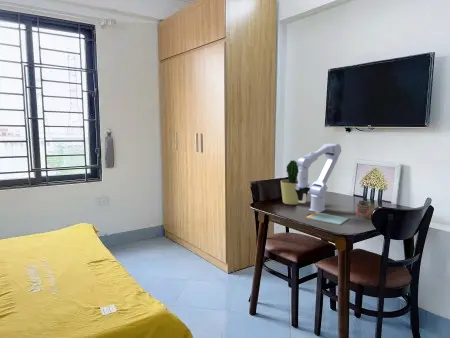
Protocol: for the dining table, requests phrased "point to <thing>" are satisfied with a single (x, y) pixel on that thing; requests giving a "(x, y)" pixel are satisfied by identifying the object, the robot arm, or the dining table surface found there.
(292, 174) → the potted cactus
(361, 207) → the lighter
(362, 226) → the dining table surface
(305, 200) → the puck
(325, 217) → the mat
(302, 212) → the dining table surface
